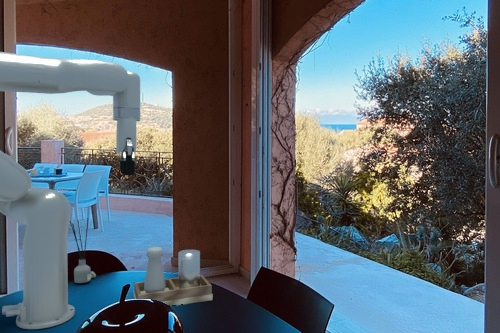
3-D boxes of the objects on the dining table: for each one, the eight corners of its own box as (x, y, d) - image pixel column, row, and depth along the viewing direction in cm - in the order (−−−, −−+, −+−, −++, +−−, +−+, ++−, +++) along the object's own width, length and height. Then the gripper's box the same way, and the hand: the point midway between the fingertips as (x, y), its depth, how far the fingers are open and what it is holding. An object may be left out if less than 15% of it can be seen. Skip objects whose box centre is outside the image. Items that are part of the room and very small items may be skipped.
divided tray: (137, 311, 95) (137, 295, 95) (133, 296, 105) (133, 282, 105) (212, 299, 103) (212, 285, 103) (202, 287, 113) (202, 274, 113)
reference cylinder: (181, 295, 102) (180, 256, 102) (176, 288, 107) (176, 250, 107) (202, 292, 104) (202, 253, 104) (196, 285, 110) (196, 248, 109)
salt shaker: (160, 299, 99) (160, 251, 98) (140, 298, 100) (139, 250, 99) (168, 291, 104) (168, 245, 104) (149, 290, 105) (149, 244, 105)
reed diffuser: (81, 288, 111) (80, 222, 111) (60, 287, 112) (59, 221, 112) (99, 277, 121) (99, 216, 121) (80, 276, 122) (79, 215, 122)
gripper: (111, 117, 115) (112, 173, 115) (114, 111, 99) (115, 176, 99) (137, 118, 118) (137, 172, 118) (144, 113, 102) (144, 175, 102)
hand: (127, 174), depth 109 cm, fingers open, 9 cm apart
